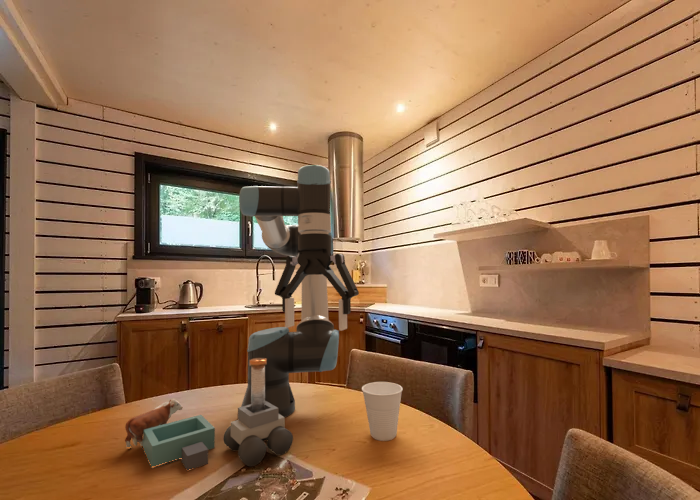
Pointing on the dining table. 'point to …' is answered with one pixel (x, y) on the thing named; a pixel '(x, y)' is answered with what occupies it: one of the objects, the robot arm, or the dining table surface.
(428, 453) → the dining table surface
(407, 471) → the dining table surface
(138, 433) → the bull figurine
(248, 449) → the trolley
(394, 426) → the cup
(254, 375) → the glass jar
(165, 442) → the tray
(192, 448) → the block
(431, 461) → the dining table surface
